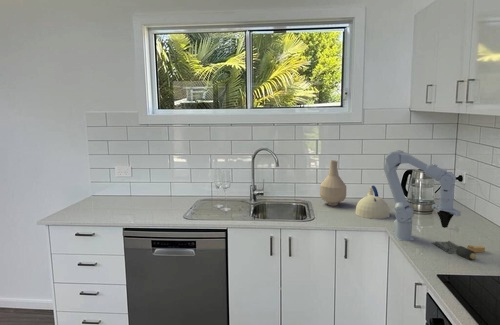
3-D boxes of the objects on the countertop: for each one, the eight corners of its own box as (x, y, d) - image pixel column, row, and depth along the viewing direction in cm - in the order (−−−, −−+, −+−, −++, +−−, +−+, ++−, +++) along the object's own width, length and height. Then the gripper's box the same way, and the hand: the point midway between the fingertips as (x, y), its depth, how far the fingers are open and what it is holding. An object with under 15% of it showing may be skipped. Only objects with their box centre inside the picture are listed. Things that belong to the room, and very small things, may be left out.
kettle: (384, 210, 243) (386, 182, 240) (393, 219, 222) (395, 189, 220) (352, 209, 245) (353, 182, 242) (358, 218, 224) (359, 188, 222)
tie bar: (466, 250, 171) (467, 245, 171) (481, 250, 172) (481, 244, 171) (469, 252, 169) (470, 246, 169) (484, 251, 170) (485, 246, 169)
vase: (336, 209, 245) (337, 163, 241) (314, 204, 258) (315, 160, 254) (351, 204, 257) (352, 160, 253) (329, 200, 270) (330, 158, 266)
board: (430, 243, 182) (430, 240, 182) (449, 242, 183) (449, 239, 183) (461, 262, 159) (461, 259, 159) (482, 261, 160) (483, 258, 160)
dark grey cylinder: (456, 255, 167) (455, 247, 166) (463, 253, 168) (462, 244, 167) (470, 262, 160) (469, 253, 159) (478, 259, 161) (477, 250, 160)
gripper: (427, 196, 180) (426, 223, 182) (453, 203, 167) (451, 232, 169) (439, 194, 183) (437, 222, 185) (465, 201, 169) (462, 230, 171)
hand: (444, 227), depth 177 cm, fingers closed
